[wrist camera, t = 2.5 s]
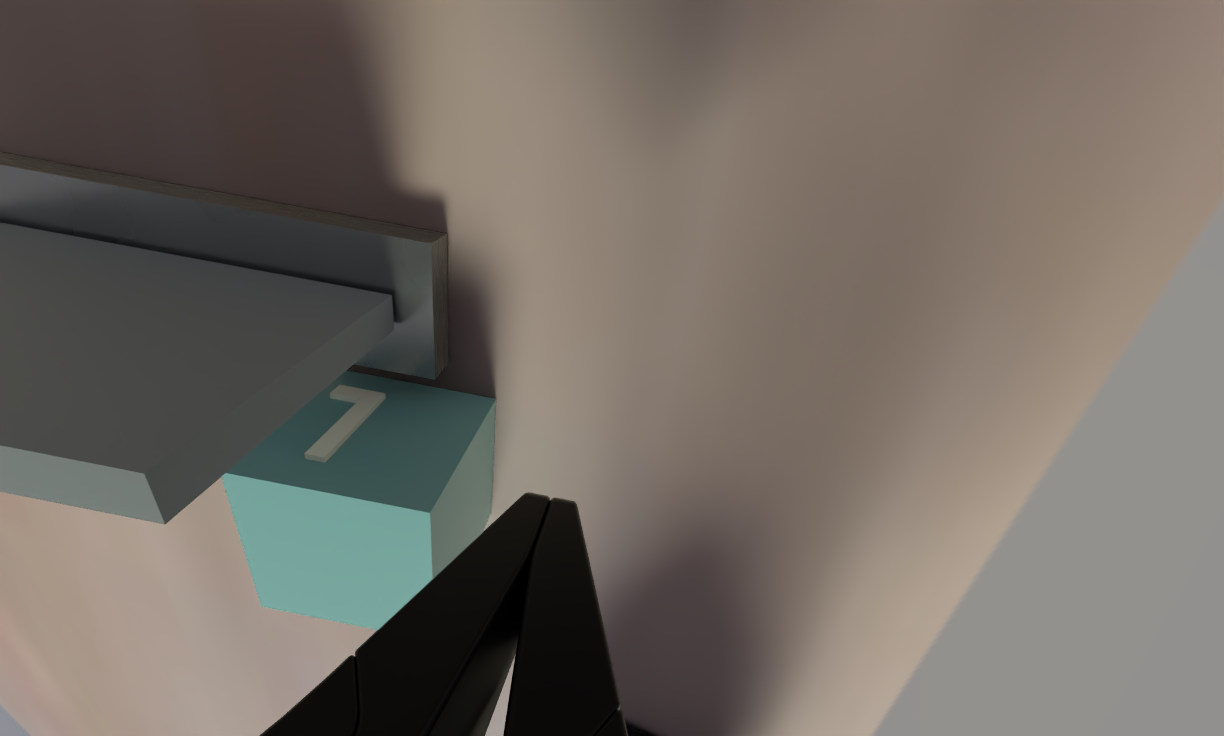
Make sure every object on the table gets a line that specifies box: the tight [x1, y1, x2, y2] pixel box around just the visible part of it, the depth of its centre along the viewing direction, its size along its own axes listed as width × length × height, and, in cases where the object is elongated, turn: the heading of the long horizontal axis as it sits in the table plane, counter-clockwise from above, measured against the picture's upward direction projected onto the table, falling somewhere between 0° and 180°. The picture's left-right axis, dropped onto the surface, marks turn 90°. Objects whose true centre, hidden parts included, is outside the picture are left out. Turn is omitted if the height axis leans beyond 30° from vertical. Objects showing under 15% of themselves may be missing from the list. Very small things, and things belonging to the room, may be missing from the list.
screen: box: [0, 223, 394, 524], centre depth 10 cm, size 12×1×7 cm, turn 82°
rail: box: [0, 152, 449, 380], centre depth 14 cm, size 21×4×1 cm, turn 82°
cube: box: [221, 370, 496, 630], centre depth 15 cm, size 5×5×5 cm
